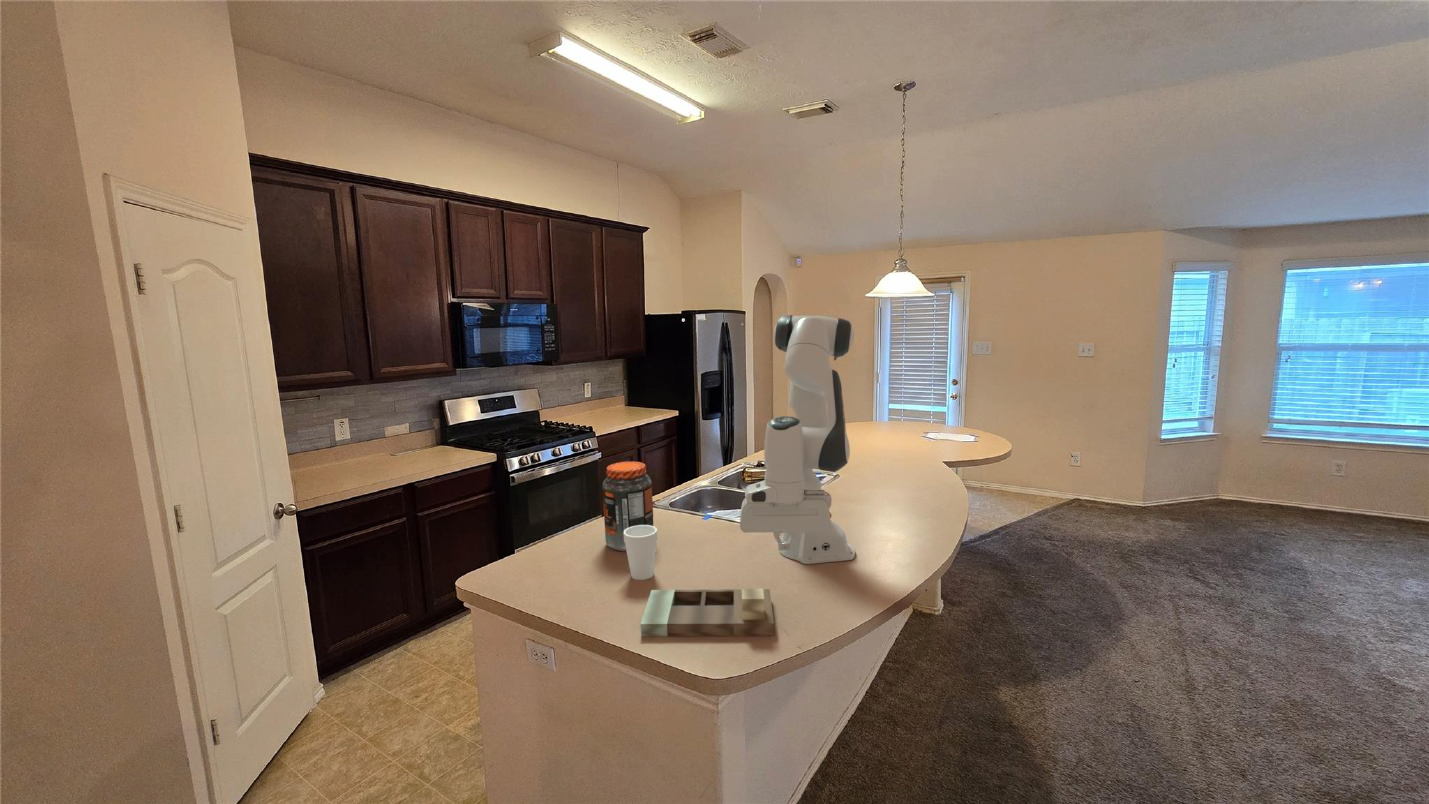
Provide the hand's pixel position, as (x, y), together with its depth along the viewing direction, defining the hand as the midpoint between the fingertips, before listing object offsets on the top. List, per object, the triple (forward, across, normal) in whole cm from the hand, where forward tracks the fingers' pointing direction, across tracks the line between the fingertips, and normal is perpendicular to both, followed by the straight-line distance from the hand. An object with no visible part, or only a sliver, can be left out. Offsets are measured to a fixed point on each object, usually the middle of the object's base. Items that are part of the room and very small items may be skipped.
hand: (784, 549), depth 123 cm
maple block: (+16, +7, 0) cm, 17 cm away
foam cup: (+19, +38, -27) cm, 50 cm away
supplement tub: (+19, +46, -50) cm, 71 cm away
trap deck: (+19, +18, -4) cm, 26 cm away
